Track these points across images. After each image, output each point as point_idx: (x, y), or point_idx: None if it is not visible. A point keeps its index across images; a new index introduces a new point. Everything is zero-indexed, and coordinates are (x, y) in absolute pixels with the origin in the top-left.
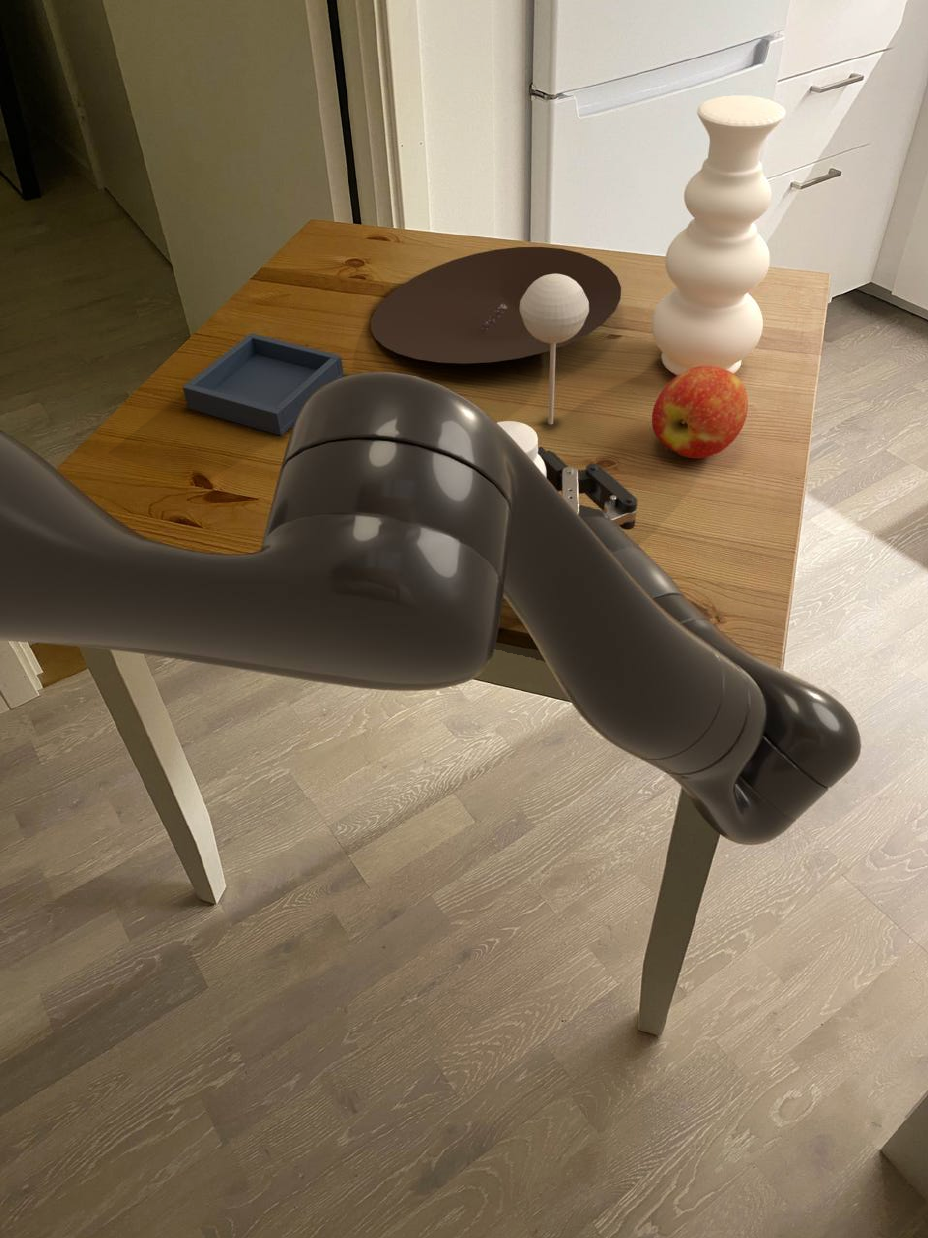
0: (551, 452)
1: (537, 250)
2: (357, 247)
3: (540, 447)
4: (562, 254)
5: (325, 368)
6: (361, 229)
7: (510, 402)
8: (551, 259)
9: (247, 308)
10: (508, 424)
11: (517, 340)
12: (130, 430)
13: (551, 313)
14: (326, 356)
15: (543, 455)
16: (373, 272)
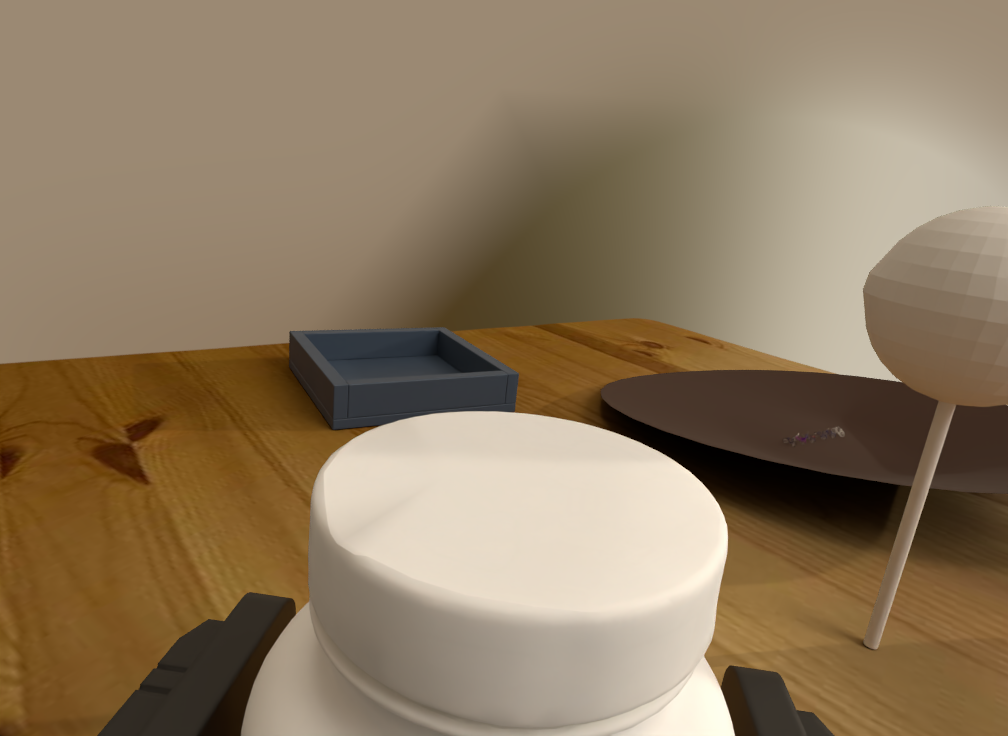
0: (826, 733)
1: None
2: (667, 338)
3: (771, 674)
4: None
5: (478, 375)
6: (685, 331)
7: (780, 556)
8: None
9: (490, 334)
10: (599, 441)
11: (845, 474)
12: (199, 358)
13: (973, 278)
14: (498, 367)
15: (767, 725)
16: (666, 355)
